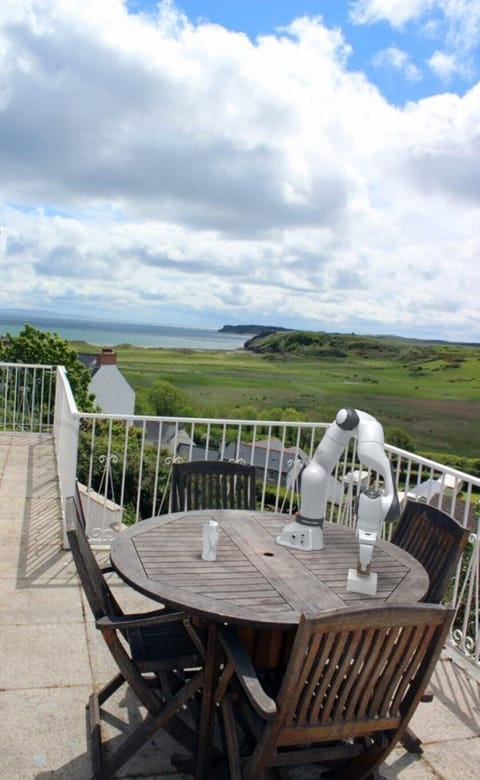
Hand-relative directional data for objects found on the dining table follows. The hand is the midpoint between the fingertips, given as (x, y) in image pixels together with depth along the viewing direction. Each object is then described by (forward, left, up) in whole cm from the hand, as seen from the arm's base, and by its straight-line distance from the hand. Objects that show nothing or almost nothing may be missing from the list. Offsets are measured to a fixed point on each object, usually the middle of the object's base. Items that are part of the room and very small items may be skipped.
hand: (363, 567), depth 221 cm
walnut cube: (0, 0, -2) cm, 2 cm away
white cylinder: (-63, +2, -8) cm, 64 cm away
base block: (0, 0, -8) cm, 8 cm away
